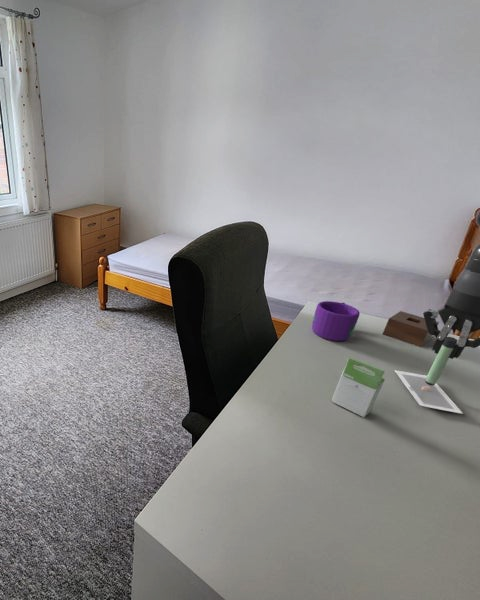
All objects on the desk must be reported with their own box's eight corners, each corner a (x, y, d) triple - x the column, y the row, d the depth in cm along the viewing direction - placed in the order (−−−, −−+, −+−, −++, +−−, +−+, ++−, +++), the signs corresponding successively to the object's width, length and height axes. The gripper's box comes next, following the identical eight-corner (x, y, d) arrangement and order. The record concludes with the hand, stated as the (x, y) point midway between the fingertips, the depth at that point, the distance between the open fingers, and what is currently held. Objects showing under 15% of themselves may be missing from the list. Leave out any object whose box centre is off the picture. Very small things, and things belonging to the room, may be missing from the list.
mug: (346, 347, 106) (356, 319, 102) (305, 334, 114) (313, 308, 110) (357, 328, 117) (366, 302, 113) (319, 317, 125) (326, 292, 121)
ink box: (370, 411, 81) (391, 365, 76) (364, 418, 79) (384, 371, 74) (337, 395, 86) (354, 351, 81) (330, 401, 84) (347, 357, 79)
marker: (425, 380, 88) (447, 335, 82) (435, 384, 87) (459, 339, 80) (422, 383, 87) (444, 338, 81) (432, 388, 86) (456, 342, 79)
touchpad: (428, 379, 92) (432, 372, 91) (461, 417, 79) (465, 410, 78) (392, 373, 94) (395, 366, 93) (418, 409, 82) (422, 402, 81)
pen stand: (394, 326, 118) (400, 310, 116) (431, 338, 111) (439, 322, 108) (382, 334, 114) (388, 318, 111) (420, 347, 106) (428, 330, 103)
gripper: (529, 297, 72) (489, 364, 80) (441, 277, 83) (413, 338, 90) (521, 305, 69) (480, 374, 76) (431, 284, 79) (402, 346, 87)
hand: (444, 354), depth 83 cm, fingers closed on marker, 2 cm apart
